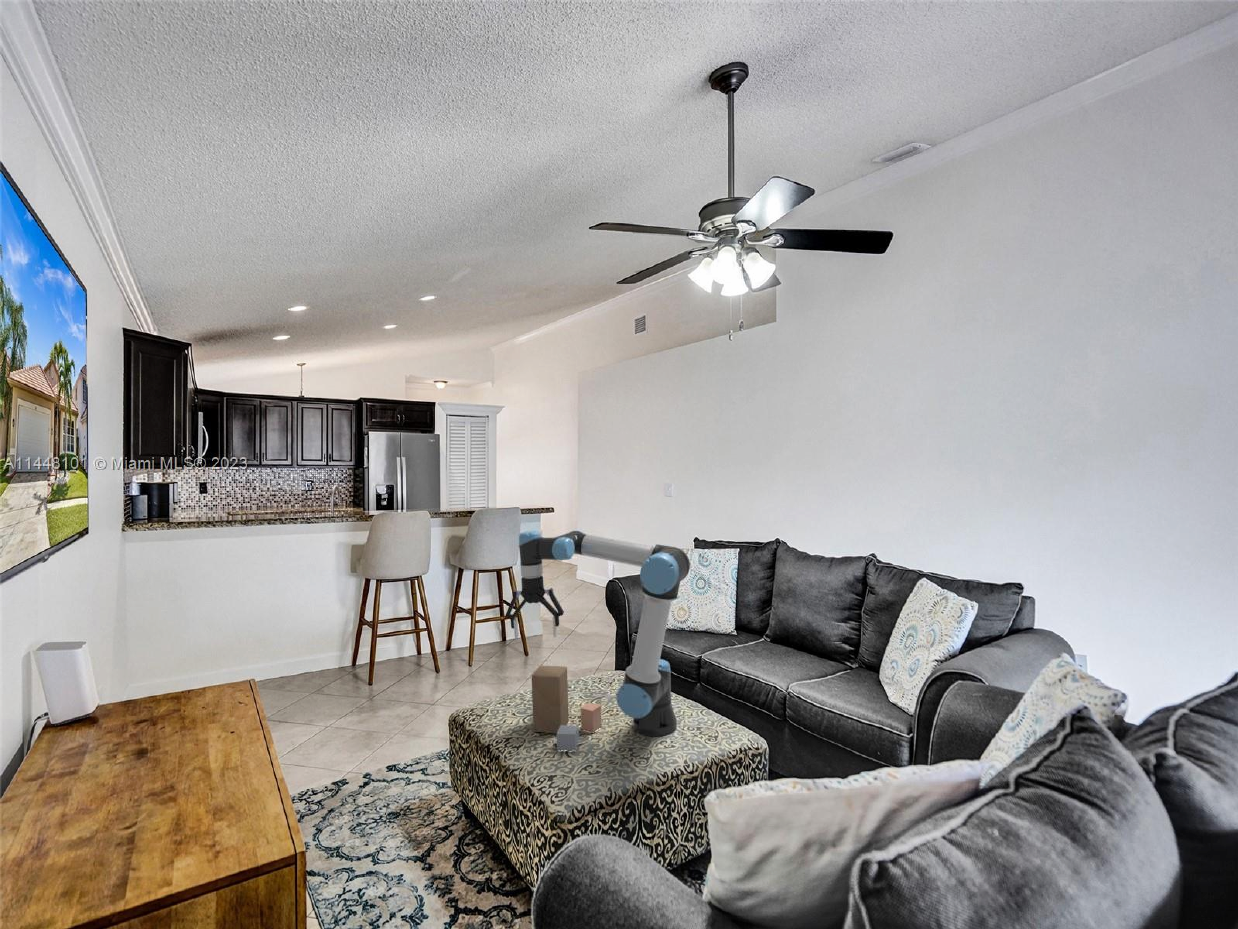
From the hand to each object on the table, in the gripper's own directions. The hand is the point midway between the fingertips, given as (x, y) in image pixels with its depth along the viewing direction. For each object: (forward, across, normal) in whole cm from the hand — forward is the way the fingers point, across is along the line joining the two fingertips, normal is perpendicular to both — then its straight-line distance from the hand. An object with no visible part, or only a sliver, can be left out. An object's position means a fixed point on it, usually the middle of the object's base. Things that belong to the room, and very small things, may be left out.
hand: (535, 636), depth 221 cm
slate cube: (+32, -11, +15) cm, 37 cm away
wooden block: (+32, -4, +1) cm, 32 cm away
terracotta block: (+32, -18, +2) cm, 37 cm away
